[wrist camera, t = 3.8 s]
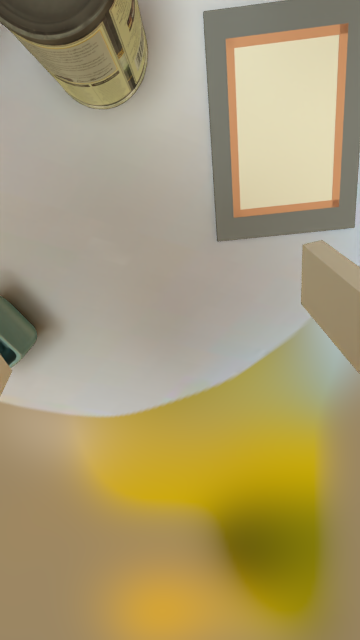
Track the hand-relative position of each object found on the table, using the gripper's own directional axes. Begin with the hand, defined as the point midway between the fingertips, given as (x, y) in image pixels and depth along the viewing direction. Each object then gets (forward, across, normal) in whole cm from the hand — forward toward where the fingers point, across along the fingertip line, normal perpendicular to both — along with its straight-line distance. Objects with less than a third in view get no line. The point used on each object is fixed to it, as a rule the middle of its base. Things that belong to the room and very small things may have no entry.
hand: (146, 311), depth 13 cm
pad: (+27, +16, +2) cm, 32 cm away
